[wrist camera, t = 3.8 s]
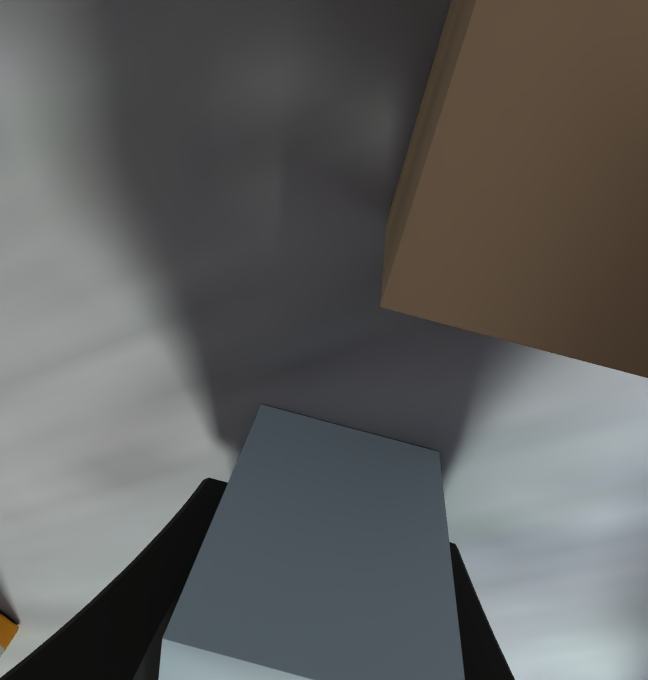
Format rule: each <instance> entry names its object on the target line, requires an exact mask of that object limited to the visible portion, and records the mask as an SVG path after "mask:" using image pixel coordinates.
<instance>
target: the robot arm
mask: <svg viewBox="0 0 648 680" xmlns="http://www.w3.org/2000/svg"><path fill="white" fill-rule="evenodd" d="M227 484H228V483H227V482H223V481H219V480H216V479H212V478H207V479H205V480H203V481H202V482H201V484H200V485H199V486H198V488H197V489H196V490H195V492H194V493H193V494H192V496H191V497H190V498H189V499H188V501H187V502H186V503H185V504H184V505H183V507H182V508H181V509H180V510H179V511H178V513H177V514H176V515H175V516H174V517H173V518H172V519H171V521H170V522H169V523H168V524H167V525H166V526H165V527H164V528H163V530H162V531H161V532H160V533H159V534H158V535H157V536H156V537H155V538H154V539H153V540H152V541H151V542H150V543H149V544H148V545H147V547H146V548H145V549H144V550H143V551H142V552H141V553H140V554H139V555H138V556H137V557H136V558H135V559H134V560H133V561H132V562H131V563H130V564H129V565H128V566H127V567H126V568H125V569H124V570H123V571H122V572H121V573H120V574H119V575H118V576H117V577H116V578H115V579H114V580H113V581H112V582H111V583H110V584H108V585H107V586H106V587H105V588H104V589H103V590H102V591H101V592H100V593H99V594H98V595H97V596H96V597H95V598H94V599H93V600H92V601H91V602H90V603H89V604H87V605H86V606H85V607H84V608H83V609H82V610H81V611H80V612H79V613H77V614H76V615H75V616H74V617H73V618H72V619H71V620H70V621H68V622H67V623H66V624H65V625H64V626H63V627H62V628H60V629H59V630H58V631H57V632H56V633H55V634H53V635H52V636H51V637H50V638H49V639H48V640H46V641H45V642H44V643H43V644H42V645H40V646H39V647H38V648H37V649H36V650H35V651H33V652H32V653H31V654H30V655H28V656H27V657H26V658H25V659H24V660H22V661H21V662H20V663H19V664H17V665H16V666H15V667H13V668H12V669H11V670H10V671H8V672H7V673H6V674H5V675H3V676H2V677H1V678H0V680H158V679H159V668H160V658H161V648H162V638H163V636H164V633H165V631H166V629H167V626H168V624H169V622H170V619H171V617H172V615H173V612H174V610H175V607H176V605H177V603H178V600H179V598H180V596H181V593H182V591H183V588H184V586H185V584H186V581H187V579H188V577H189V574H190V572H191V570H192V567H193V565H194V562H195V560H196V558H197V555H198V553H199V551H200V548H201V546H202V543H203V541H204V539H205V536H206V534H207V532H208V529H209V527H210V525H211V522H212V520H213V517H214V515H215V513H216V510H217V508H218V506H219V503H220V501H221V498H222V496H223V494H224V491H225V489H226V487H227ZM449 544H450V553H451V562H452V571H453V579H454V588H455V597H456V606H457V615H458V623H459V632H460V641H461V650H462V659H463V667H464V676H465V680H515V679H514V677H513V675H512V672H511V670H510V668H509V666H508V664H507V662H506V660H505V657H504V655H503V653H502V651H501V649H500V647H499V644H498V642H497V640H496V638H495V636H494V634H493V631H492V629H491V627H490V625H489V622H488V620H487V618H486V615H485V613H484V611H483V608H482V606H481V604H480V601H479V599H478V597H477V594H476V592H475V590H474V587H473V585H472V582H471V580H470V577H469V575H468V572H467V570H466V567H465V565H464V563H463V560H462V558H461V555H460V553H459V550H458V548H457V546H456V545H455V544H454V543H450V542H449Z"/></svg>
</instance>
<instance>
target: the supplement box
mask: <svg viewBox="0 0 648 680" xmlns="http://www.w3.org/2000/svg"><path fill="white" fill-rule="evenodd" d="M18 628H19V627H18V626H17V625H16V624H15V623H13V622H11V621H10V620H9V619H7V618H6V617H5V616H3V615H2V614H0V657H1V655H2V654H3V653H4V652H5V650H6V648H7V647H8V645H9V643H10V642H11V640H12V639H13V637H14V636H15V634H16V633H17V631H18Z"/></svg>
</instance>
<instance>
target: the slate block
mask: <svg viewBox="0 0 648 680" xmlns="http://www.w3.org/2000/svg"><path fill="white" fill-rule="evenodd" d="M158 680H465V676H464V667H463V659H462V650H461V641H460V632H459V623H458V615H457V606H456V597H455V588H454V579H453V571H452V562H451V553H450V544H449V535H448V527H447V518H446V509H445V500H444V491H443V483H442V474H441V465H440V456H439V452H438V451H434V450H430V449H426V448H423V447H419V446H415V445H411V444H408V443H404V442H400V441H396V440H393V439H389V438H385V437H381V436H378V435H374V434H370V433H366V432H363V431H359V430H355V429H351V428H348V427H344V426H340V425H337V424H333V423H329V422H325V421H322V420H318V419H314V418H310V417H307V416H303V415H299V414H295V413H292V412H288V411H284V410H280V409H277V408H273V407H269V406H265V405H262V404H261V406H260V408H259V411H258V413H257V416H256V418H255V420H254V423H253V425H252V427H251V430H250V432H249V434H248V437H247V439H246V442H245V444H244V446H243V449H242V451H241V453H240V456H239V458H238V461H237V463H236V465H235V468H234V470H233V472H232V475H231V477H230V480H229V482H228V484H227V487H226V489H225V491H224V494H223V496H222V498H221V501H220V503H219V506H218V508H217V510H216V513H215V515H214V517H213V520H212V522H211V525H210V527H209V529H208V532H207V534H206V536H205V539H204V541H203V543H202V546H201V548H200V551H199V553H198V555H197V558H196V560H195V562H194V565H193V567H192V570H191V572H190V574H189V577H188V579H187V581H186V584H185V586H184V588H183V591H182V593H181V596H180V598H179V600H178V603H177V605H176V607H175V610H174V612H173V615H172V617H171V619H170V622H169V624H168V626H167V629H166V631H165V633H164V636H163V638H162V648H161V658H160V668H159V679H158Z"/></svg>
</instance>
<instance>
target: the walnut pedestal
mask: <svg viewBox="0 0 648 680" xmlns="http://www.w3.org/2000/svg"><path fill="white" fill-rule="evenodd" d="M380 307H381V308H385V309H388V310H392V311H396V312H400V313H404V314H407V315H411V316H415V317H419V318H423V319H426V320H430V321H434V322H438V323H442V324H445V325H449V326H453V327H457V328H460V329H464V330H468V331H472V332H476V333H479V334H483V335H487V336H491V337H495V338H498V339H502V340H506V341H510V342H514V343H517V344H521V345H525V346H529V347H532V348H536V349H540V350H544V351H548V352H551V353H555V354H559V355H563V356H567V357H570V358H574V359H578V360H582V361H586V362H589V363H593V364H597V365H601V366H604V367H608V368H612V369H616V370H620V371H623V372H627V373H631V374H635V375H639V376H642V377H646V378H648V0H451V3H450V7H449V10H448V14H447V17H446V20H445V24H444V27H443V31H442V34H441V37H440V41H439V44H438V48H437V51H436V55H435V58H434V61H433V65H432V68H431V72H430V75H429V78H428V82H427V85H426V89H425V92H424V95H423V99H422V102H421V106H420V109H419V112H418V116H417V119H416V123H415V126H414V130H413V133H412V136H411V140H410V143H409V147H408V150H407V153H406V157H405V160H404V164H403V167H402V170H401V174H400V177H399V181H398V184H397V188H396V191H395V194H394V198H393V201H392V205H391V208H390V211H389V215H388V218H387V222H386V232H385V245H384V258H383V271H382V284H381V297H380Z"/></svg>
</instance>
